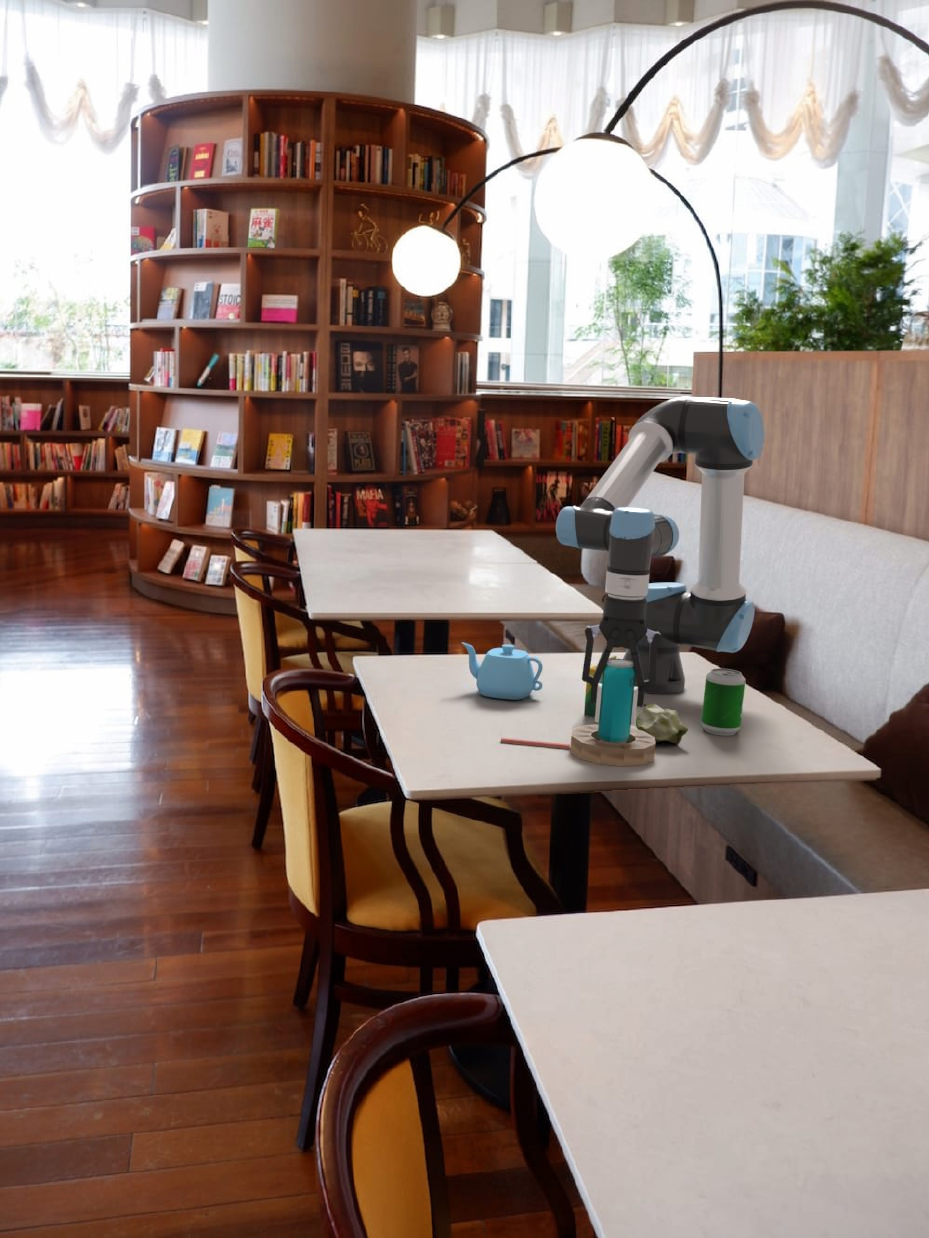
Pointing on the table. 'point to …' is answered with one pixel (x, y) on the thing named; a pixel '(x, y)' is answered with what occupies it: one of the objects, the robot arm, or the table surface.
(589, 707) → the crayon box
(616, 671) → the beverage can
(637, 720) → the fruit
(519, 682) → the teapot
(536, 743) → the stick
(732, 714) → the soda can
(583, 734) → the tan flat ring
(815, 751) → the table surface
